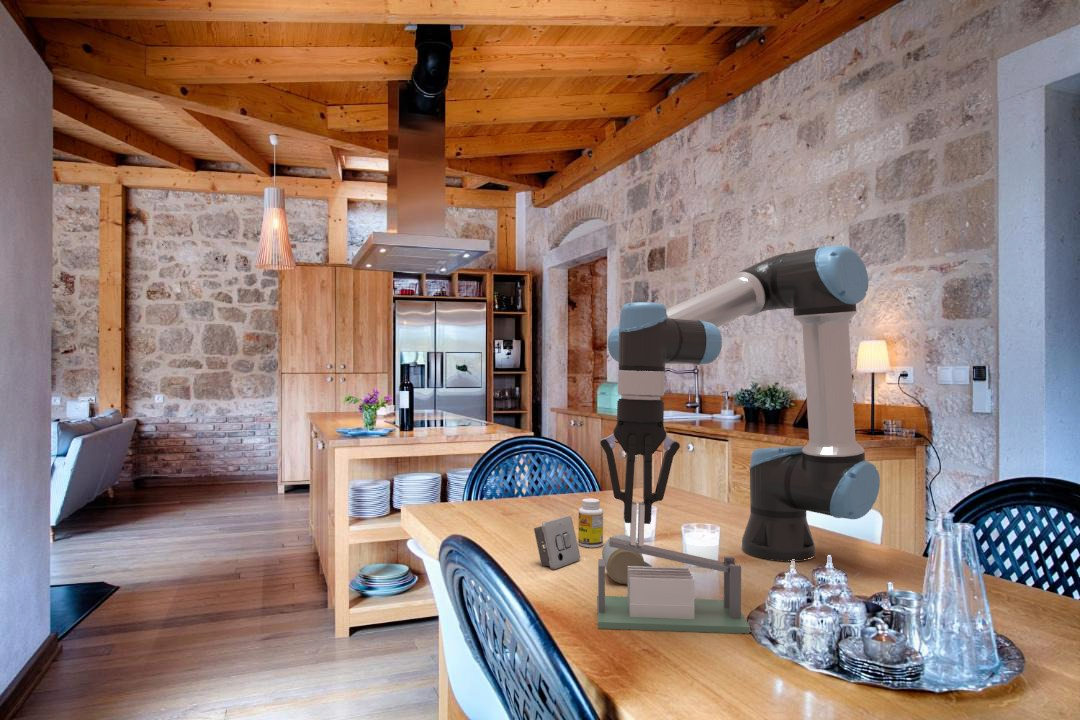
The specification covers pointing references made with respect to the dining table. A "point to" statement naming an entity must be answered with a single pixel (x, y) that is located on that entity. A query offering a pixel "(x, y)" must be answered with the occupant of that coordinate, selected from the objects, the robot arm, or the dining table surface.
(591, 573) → the dining table surface
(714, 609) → the base
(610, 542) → the grey retaining bar
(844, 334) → the robot arm
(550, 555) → the electrical switch
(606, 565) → the ceramic mug
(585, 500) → the supplement bottle
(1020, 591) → the dining table surface
